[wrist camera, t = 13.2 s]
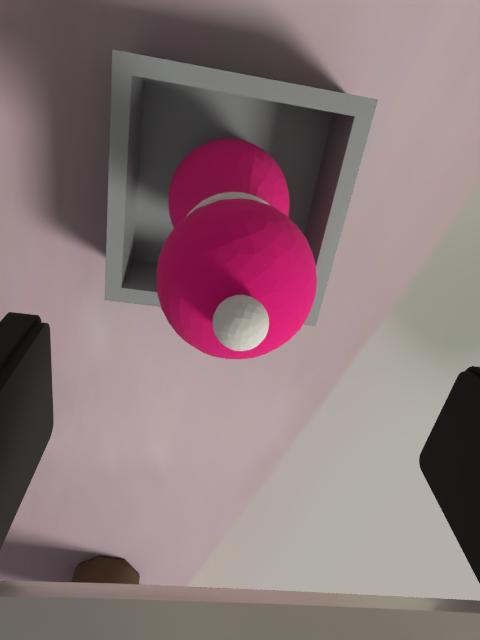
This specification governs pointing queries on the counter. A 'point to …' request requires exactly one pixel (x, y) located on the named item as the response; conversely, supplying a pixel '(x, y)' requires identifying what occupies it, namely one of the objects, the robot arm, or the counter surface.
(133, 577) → the beer bottle
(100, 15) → the counter surface
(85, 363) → the counter surface
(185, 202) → the pepper mill
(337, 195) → the bin
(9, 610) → the robot arm
